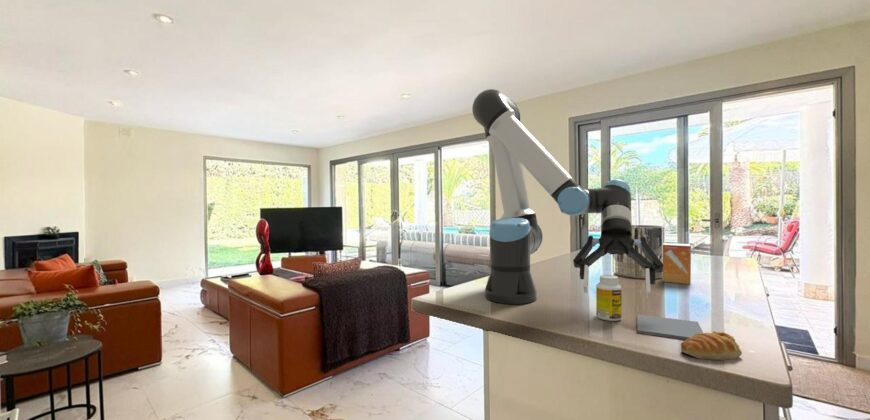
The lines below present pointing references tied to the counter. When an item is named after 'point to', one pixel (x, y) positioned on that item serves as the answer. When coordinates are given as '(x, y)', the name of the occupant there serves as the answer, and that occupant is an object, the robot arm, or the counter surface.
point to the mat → (667, 327)
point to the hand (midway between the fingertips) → (615, 292)
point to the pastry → (711, 346)
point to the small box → (677, 263)
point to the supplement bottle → (609, 298)
